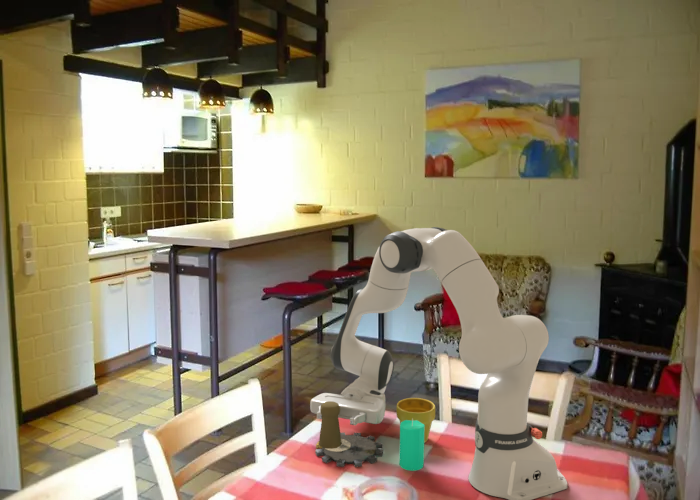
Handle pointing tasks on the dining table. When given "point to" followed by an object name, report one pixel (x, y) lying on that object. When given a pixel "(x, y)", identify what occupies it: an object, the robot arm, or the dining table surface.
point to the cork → (330, 425)
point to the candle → (411, 445)
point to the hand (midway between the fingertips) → (335, 419)
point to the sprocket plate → (352, 450)
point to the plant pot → (417, 412)
